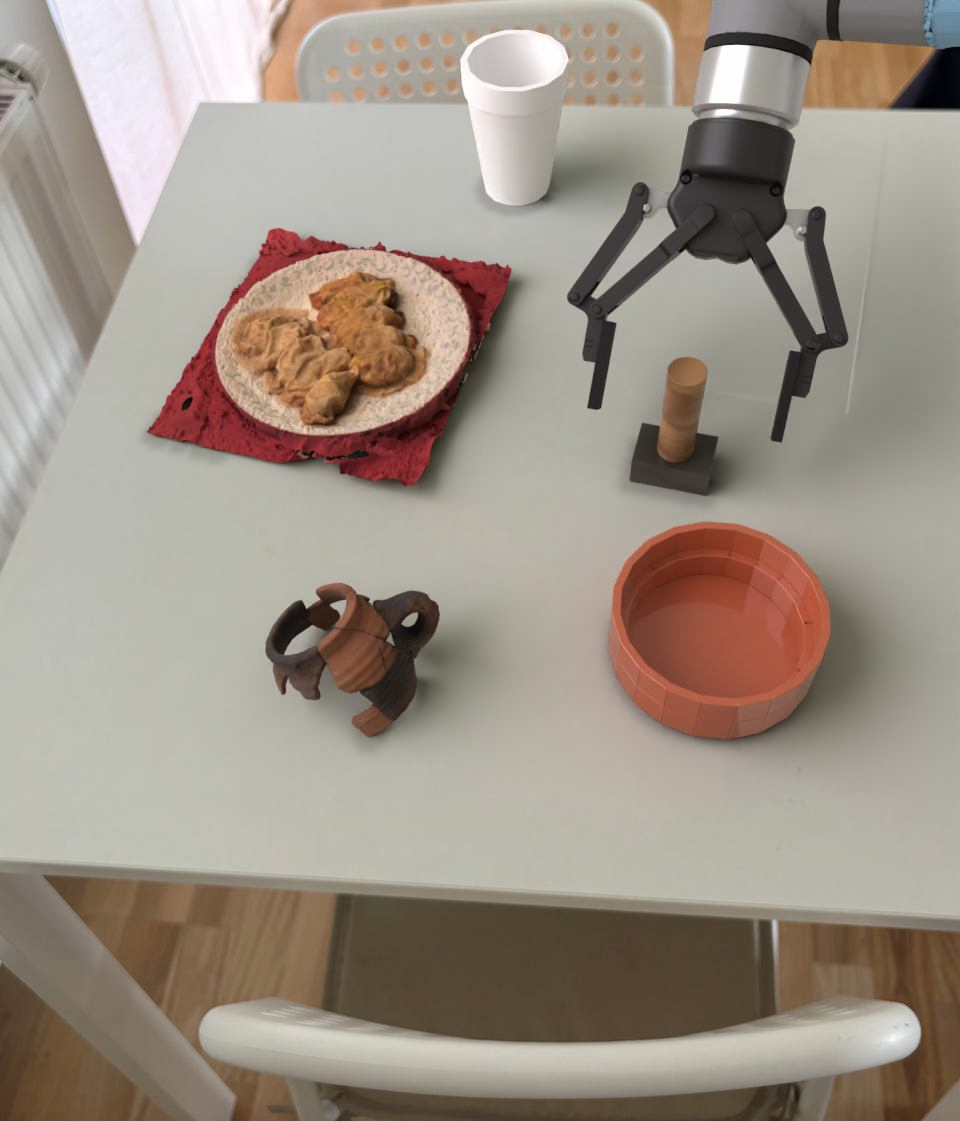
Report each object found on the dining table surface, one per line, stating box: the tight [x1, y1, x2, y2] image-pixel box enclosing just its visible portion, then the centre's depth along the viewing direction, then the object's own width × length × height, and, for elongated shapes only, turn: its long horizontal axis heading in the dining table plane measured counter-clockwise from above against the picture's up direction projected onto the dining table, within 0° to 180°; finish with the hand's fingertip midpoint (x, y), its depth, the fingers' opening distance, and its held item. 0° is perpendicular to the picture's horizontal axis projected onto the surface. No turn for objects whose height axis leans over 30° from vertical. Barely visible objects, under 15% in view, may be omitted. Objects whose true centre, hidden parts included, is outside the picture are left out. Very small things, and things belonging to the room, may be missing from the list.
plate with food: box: [146, 227, 512, 487], centre depth 94 cm, size 24×26×4 cm
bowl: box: [607, 521, 832, 740], centre depth 75 cm, size 14×14×6 cm
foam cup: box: [459, 29, 570, 207], centre depth 102 cm, size 10×9×13 cm
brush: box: [629, 356, 719, 497], centre depth 82 cm, size 6×4×11 cm, turn 74°
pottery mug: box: [264, 582, 441, 737], centre depth 76 cm, size 12×10×8 cm
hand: (683, 424), depth 82 cm, fingers open, 13 cm apart
